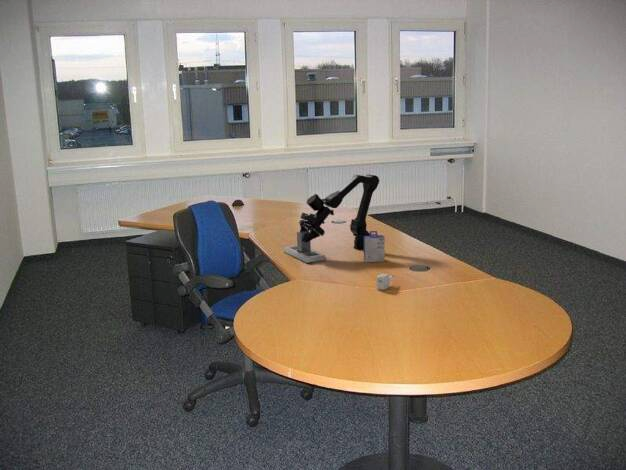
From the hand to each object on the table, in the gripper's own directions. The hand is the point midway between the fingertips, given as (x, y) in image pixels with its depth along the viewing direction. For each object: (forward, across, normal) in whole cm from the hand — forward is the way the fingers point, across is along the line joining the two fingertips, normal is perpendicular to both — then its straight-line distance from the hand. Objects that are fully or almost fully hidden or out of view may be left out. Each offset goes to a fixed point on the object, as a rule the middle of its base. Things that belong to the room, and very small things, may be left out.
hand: (301, 240), depth 306 cm
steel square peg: (+5, 0, +7) cm, 8 cm away
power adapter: (0, +63, +12) cm, 64 cm away
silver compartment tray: (+5, 0, +7) cm, 9 cm away
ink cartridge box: (-13, +25, +25) cm, 38 cm away
